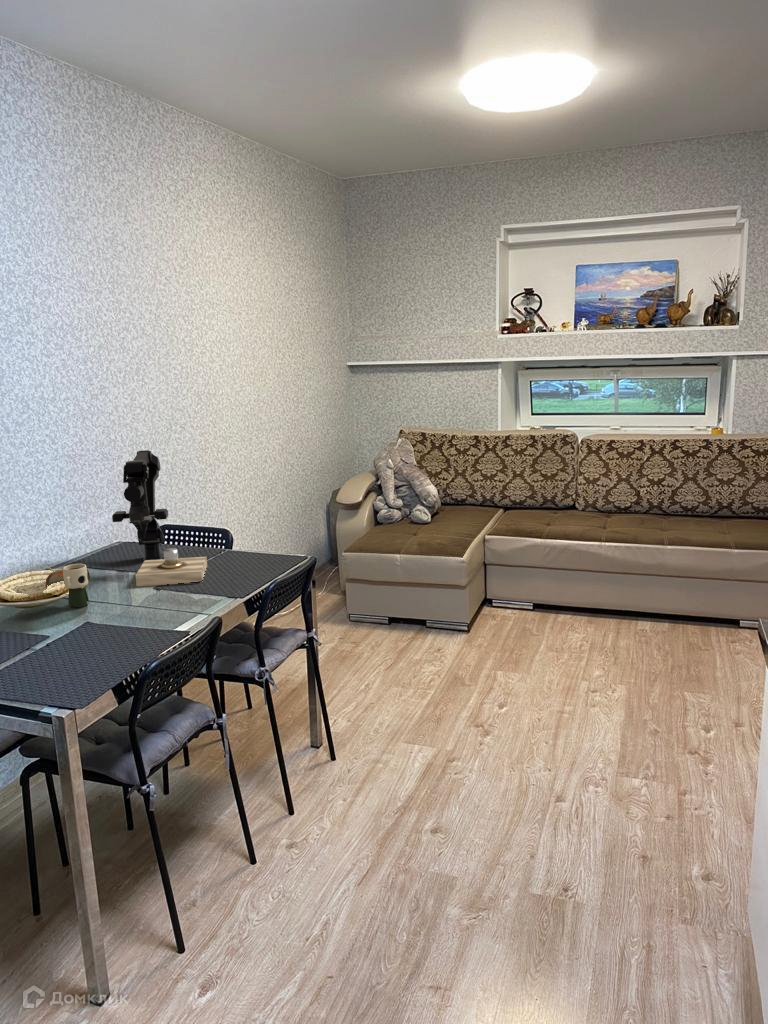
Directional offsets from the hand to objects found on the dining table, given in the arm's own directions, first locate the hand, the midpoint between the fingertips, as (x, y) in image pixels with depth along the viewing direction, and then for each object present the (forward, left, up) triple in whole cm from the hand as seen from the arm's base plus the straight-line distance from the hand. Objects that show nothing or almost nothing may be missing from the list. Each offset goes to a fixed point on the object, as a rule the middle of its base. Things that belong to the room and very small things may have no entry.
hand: (142, 538), depth 283 cm
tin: (+20, -22, -12) cm, 32 cm away
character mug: (+35, -15, -12) cm, 40 cm away
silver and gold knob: (+10, +11, -12) cm, 19 cm away
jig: (+10, +11, -12) cm, 19 cm away
